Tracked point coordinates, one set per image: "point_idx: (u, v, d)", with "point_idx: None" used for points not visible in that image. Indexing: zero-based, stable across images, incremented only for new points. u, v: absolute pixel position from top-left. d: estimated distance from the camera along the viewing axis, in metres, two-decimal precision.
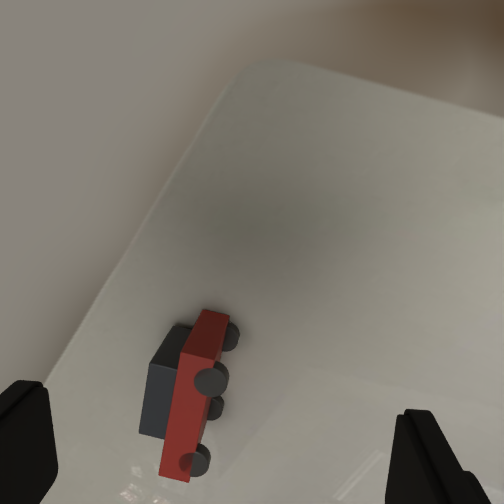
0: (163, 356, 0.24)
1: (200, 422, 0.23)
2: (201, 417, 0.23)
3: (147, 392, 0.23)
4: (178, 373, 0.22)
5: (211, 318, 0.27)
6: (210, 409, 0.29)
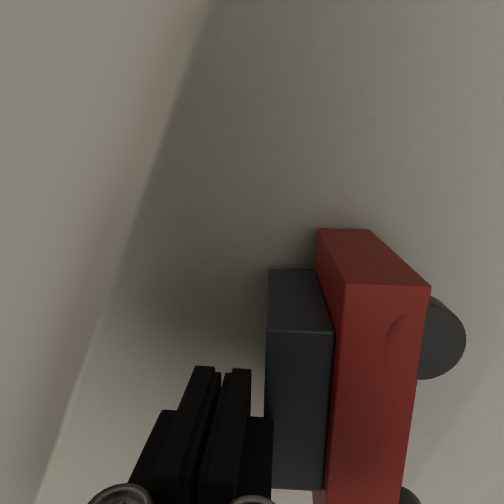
0: (287, 313, 0.11)
1: (406, 441, 0.10)
2: (408, 429, 0.10)
3: (271, 397, 0.11)
4: (344, 337, 0.09)
5: (345, 235, 0.14)
6: None
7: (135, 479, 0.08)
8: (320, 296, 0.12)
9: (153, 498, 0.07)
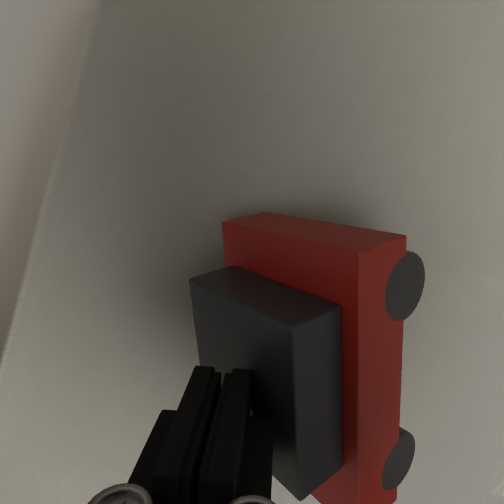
0: (281, 308, 0.10)
1: (400, 378, 0.11)
2: (401, 367, 0.11)
3: (300, 401, 0.10)
4: (361, 305, 0.10)
5: (259, 220, 0.13)
6: None
7: (135, 479, 0.08)
8: (279, 284, 0.12)
9: (153, 498, 0.07)
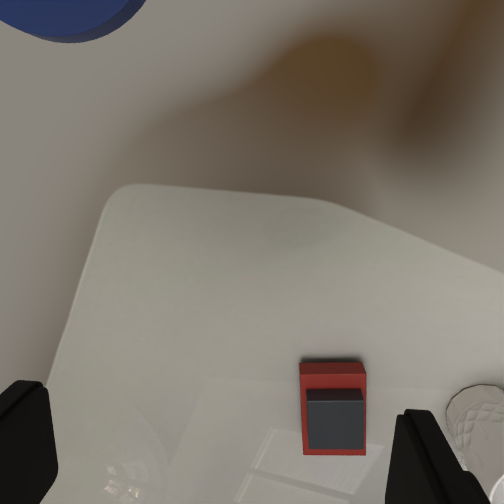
0: (352, 396, 0.35)
1: None
2: None
3: (363, 419, 0.35)
4: None
5: (311, 369, 0.37)
6: None
7: None
8: (335, 389, 0.36)
9: None
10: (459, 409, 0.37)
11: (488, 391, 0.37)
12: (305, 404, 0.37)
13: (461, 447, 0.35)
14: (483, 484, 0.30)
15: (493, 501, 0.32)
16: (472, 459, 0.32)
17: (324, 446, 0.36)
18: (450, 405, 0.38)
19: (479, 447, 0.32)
